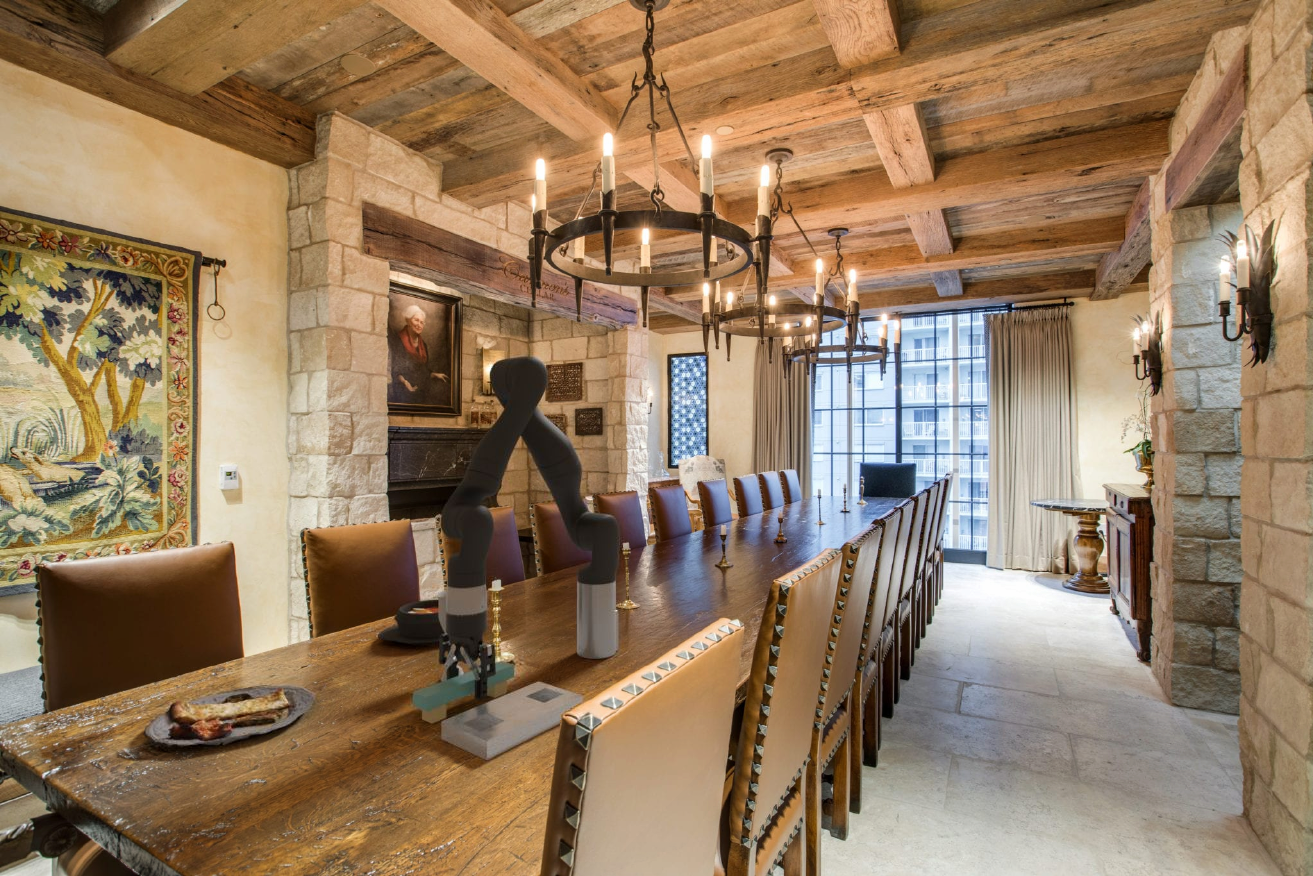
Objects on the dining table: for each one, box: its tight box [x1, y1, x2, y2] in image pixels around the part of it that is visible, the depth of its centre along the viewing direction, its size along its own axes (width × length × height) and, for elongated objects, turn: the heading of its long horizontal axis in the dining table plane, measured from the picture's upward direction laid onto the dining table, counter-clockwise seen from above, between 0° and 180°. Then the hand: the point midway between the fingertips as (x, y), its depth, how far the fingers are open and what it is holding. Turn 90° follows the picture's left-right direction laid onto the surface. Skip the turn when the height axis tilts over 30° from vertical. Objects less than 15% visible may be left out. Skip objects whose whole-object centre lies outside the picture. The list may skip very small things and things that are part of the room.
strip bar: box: [412, 660, 515, 724], centre depth 119 cm, size 20×4×5 cm, turn 144°
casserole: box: [377, 599, 445, 646], centre depth 160 cm, size 25×19×8 cm
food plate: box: [143, 684, 315, 748], centre depth 112 cm, size 25×23×4 cm
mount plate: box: [440, 681, 584, 761], centre depth 110 cm, size 22×12×3 cm, turn 144°
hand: (466, 693), depth 119 cm, fingers open, 8 cm apart
